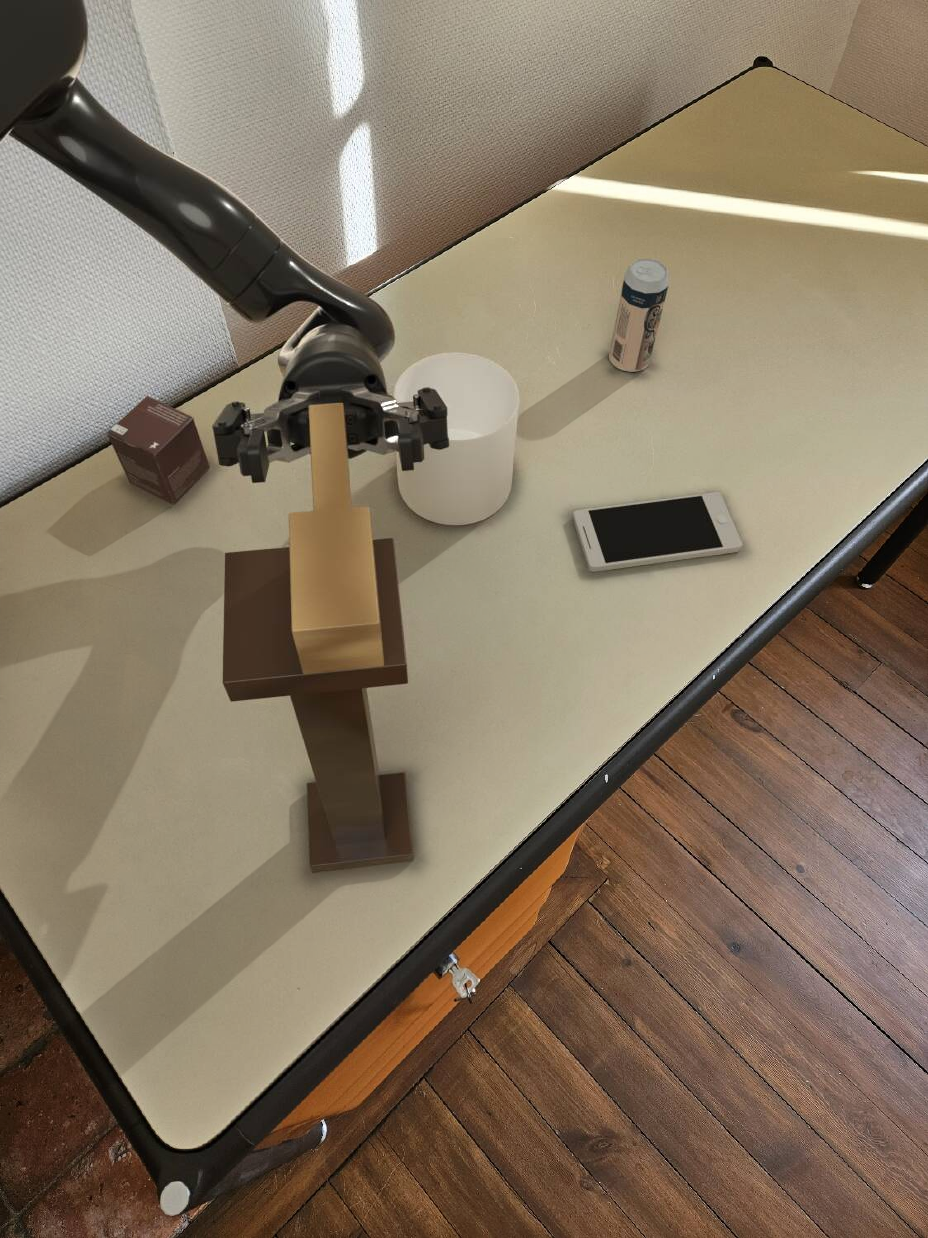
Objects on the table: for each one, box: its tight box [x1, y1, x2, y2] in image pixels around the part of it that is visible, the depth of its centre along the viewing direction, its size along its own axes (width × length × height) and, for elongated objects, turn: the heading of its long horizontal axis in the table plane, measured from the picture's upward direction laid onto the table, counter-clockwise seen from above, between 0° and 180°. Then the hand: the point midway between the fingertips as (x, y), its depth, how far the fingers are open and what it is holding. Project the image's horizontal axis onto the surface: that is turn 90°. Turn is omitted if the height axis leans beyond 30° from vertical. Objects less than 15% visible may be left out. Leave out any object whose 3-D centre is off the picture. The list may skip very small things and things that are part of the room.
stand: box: [222, 537, 415, 874], centre depth 60 cm, size 9×8×32 cm
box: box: [106, 395, 211, 505], centre depth 90 cm, size 6×6×7 cm
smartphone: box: [572, 491, 743, 573], centre depth 90 cm, size 7×16×1 cm, turn 100°
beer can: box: [608, 257, 671, 373], centre depth 99 cm, size 5×5×12 cm
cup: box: [391, 352, 521, 526], centre depth 88 cm, size 12×12×12 cm
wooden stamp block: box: [288, 403, 384, 674], centre depth 47 cm, size 4×17×4 cm, turn 7°
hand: (332, 460), depth 51 cm, fingers open, 8 cm apart
